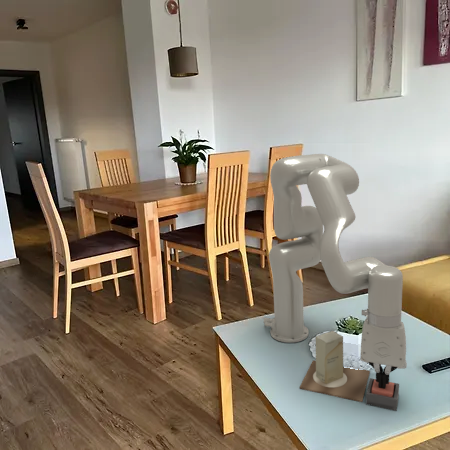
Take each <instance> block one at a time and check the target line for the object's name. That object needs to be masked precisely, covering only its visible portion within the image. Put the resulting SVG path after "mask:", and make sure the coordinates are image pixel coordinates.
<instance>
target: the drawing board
mask: <svg viewBox="0 0 450 450" xmlns="http://www.w3.org/2000/svg"><path fill="white" fill-rule="evenodd" d="M359 369H360V368H358V370H355V369H350V368H344V367H343V378H340V379H338V380H335V381H333V382H330V383H327V384H325V383H324V382H323V381H321V380H320V379H318V378H317V377H316V359H315V360H312V361H311V364H310V365H309V367H308V370H307V371H306V373H305V375H304V377H303V379H302V381H301V383H300V386H299V390H303V391H307V392H313V393H319V394H322V395H327V396H330V397H331V396H332V397H337V398H341V399H345V400H350V401H355V402H359V403H363V402H364V401H363V400H364V397H365V392H366V391H367V387H368V385H367V384H368V383H369V382H368V381H369V379H370V378H369V377H370V374H371V371H370V370H369V369H363V370H359Z"/></svg>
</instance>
